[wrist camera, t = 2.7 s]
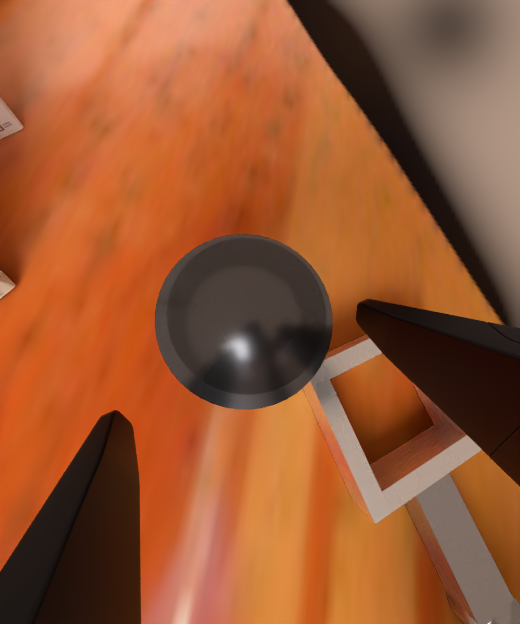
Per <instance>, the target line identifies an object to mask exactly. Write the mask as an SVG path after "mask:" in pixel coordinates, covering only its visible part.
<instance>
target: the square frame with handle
mask: <svg viewBox="0 0 520 624" xmlns="http://www.w3.org/2000/svg"><path fill="white" fill-rule="evenodd" d="M381 353H382V352H381V351H380V350H379V349H378V347H377V346H376V345H375V344H374V343H373V341H372V340H371V339H370V338H369V337H368V336H367V334H365V335H363V336H361V337H358V338H356V339H354V340H352V341H350V342H348V343H346V344H344V345H342V346H340V347H338V348H335V349H333V350H331V351H329V352H327V354H326V357H325V359H324V361H323V363H322V365H321V367H320V369H319V370H318V371H317V373H316V374H315V376H314V377H313V378H312V379H311V380H310V381H309V382H308V383H307V385H306V386H305V387H303V390H304V392H305V394H306V397H307V399H308V401H309V403H310V405H311V408H312V410H313V412H314V414H315V417H316V419H317V421H318V423H319V426H320V428H321V430H322V432H323V435H324V437H325V439H326V441H327V444H328V446H329V448H330V450H331V453H332V455H333V457H334V459H335V462H336V464H337V466H338V468H339V471H340V473H341V475H342V477H343V480H344V482H345V484H346V486H347V489H348V491H349V493H350V495H351V497H352V499H353V500H354V501H355V503H356V504H357V505H358V506H359V507H360V508H361V509H362V510H363V511H364V513H365V514H366V515H367V516H368V517H369V518H370V519H371V520H372V521H373V522H374V524H376V523H378V522H379V521H381V520H382V519H383V518H385V517H386V516H388V515H389V514H391V513H392V512H393V511H395V510H396V509H398V508H399V507H401V506H402V505H403V504H405V505H406V508H407V510H408V512H409V514H410V516H411V518H412V520H413V522H414V524H415V526H416V529H417V531H418V533H419V535H420V537H421V539H422V541H423V543H424V545H425V547H426V550H427V552H428V554H429V556H430V558H431V560H432V562H433V564H434V566H435V569H436V571H437V573H438V575H439V577H440V579H441V581H442V583H443V585H444V587H445V590H446V593H447V599H448V602H449V604H450V607H451V608H452V610H453V611H454V613H455V614H456V615H457V616H458V617H459V618H460V619H461V621H462V622H463V623H464V624H520V604H519V603H518V601H517V600H516V599H515V598H514V597H513V596H512V595H511V593H510V591H509V589H508V587H507V585H506V583H505V581H504V579H503V577H502V575H501V573H500V571H499V569H498V568H497V566H496V564H495V562H494V560H493V558H492V556H491V554H490V552H489V550H488V548H487V546H486V544H485V542H484V540H483V538H482V536H481V534H480V532H479V530H478V528H477V526H476V524H475V522H474V521H473V519H472V517H471V515H470V513H469V511H468V509H467V507H466V505H465V503H464V501H463V499H462V497H461V495H460V493H459V491H458V489H457V487H456V485H455V483H454V481H453V479H452V477H451V476H450V474H449V472H451V471H452V470H454V469H455V468H456V467H458V466H459V465H461V464H462V463H464V462H465V461H467V460H468V459H469V458H471V457H472V456H474V455H475V454H477V453H478V452H479V451H481V450H482V449H481V448H480V447H479V446H478V445H477V444H476V443H475V442H474V441H473V440H472V439H470V438H469V437H468V436H467V435H466V434H465V433H464V432H463V431H462V430H461V429H460V428H459V427H458V426H457V425H456V424H455V423H454V422H453V421H452V420H451V419H450V418H449V417H448V416H447V415H446V414H445V413H444V412H443V411H442V410H441V409H440V408H438V407H437V406H436V405H435V404H434V403H433V402H432V401H431V400H430V399H429V398H428V397H427V396H426V395H425V394H424V393H423V392H422V391H421V390H420V389H419V388H418V387H417V386H416V385H415V384H414V383H413V382H412V381H411V382H412V384H413V385H414V387H415V389H416V391H417V393H418V395H419V397H420V399H421V401H422V403H423V405H424V407H425V409H426V411H427V413H428V415H429V416H430V418H431V420H432V422H433V424H434V425H433V426H431V427H429V428H428V429H426V430H425V431H423V432H421V433H420V434H418V435H417V436H415V437H413V438H412V439H410V440H409V441H407V442H405V443H404V444H402V445H401V446H399V447H397V448H396V449H394V450H393V451H391V452H389V453H388V454H386V455H385V456H383V457H382V458H380V459H378V460H377V461H375V462H374V463H372V464H370V465H369V463H368V461H367V459H366V457H365V454H364V452H363V450H362V448H361V446H360V444H359V441H358V439H357V437H356V435H355V433H354V431H353V429H352V426H351V424H350V422H349V420H348V418H347V416H346V414H345V411H344V409H343V407H342V405H341V403H340V401H339V398H338V396H337V394H336V392H335V390H334V388H333V386H332V383H331V381H330V379H332V378H333V377H335V376H337V375H339V374H341V373H343V372H345V371H347V370H349V369H351V368H353V367H355V366H357V365H359V364H361V363H363V362H365V361H367V360H369V359H371V358H373V357H375V356H377V355H379V354H381Z"/></svg>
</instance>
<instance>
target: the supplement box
mask: <svg viewBox="0 0 520 624" xmlns="http://www.w3.org/2000/svg"><path fill="white" fill-rule="evenodd" d="M22 129H23V125H22V124H21V122H20V121H19V120H18V119H17V117H16V116H15V115H14V113H13V112H12V111H11V110H10V108H9V107H8V106H7V105H6V103H5V102H4V101H3V100H2V98H1V97H0V139H2V138H4V137H7V136H9V135H11V134H13V133H16V132H18V131H20V130H22Z"/></svg>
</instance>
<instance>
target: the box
mask: <svg viewBox="0 0 520 624" xmlns="http://www.w3.org/2000/svg"><path fill="white" fill-rule="evenodd" d="M14 287H15V284H14V283H13V282H12V281H11V280H10V279H9V278H8V277H7V276H6V275H5V274H4V273H3V272H2V271H1V270H0V299H1V298H2V297H3V296H4V295H6V294H7V293H8V292H9V291H11V290H12V289H13V288H14Z"/></svg>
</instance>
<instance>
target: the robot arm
mask: <svg viewBox="0 0 520 624" xmlns="http://www.w3.org/2000/svg"><path fill="white" fill-rule="evenodd" d="M356 321H357V323H358V325H359V326H360V327H361V328H362V330H363V331H364V332H365V333H366V334H367V336H368V337H369V338H370V339H371V340H372V341H373V343H374V344H375V345H376V346H377V347H378V349H379V350H380V351H381V352H382V353H383V354H384V355H385V356H386V357H387V358H388V359H389V360H390V361H391V362H392V363H393V364H394V365H395V366H396V367H397V368H398V369H399V370H400V371H401V372H402V373H403V374H404V375H405V376H406V377H407V378H409V379H410V380H411V381H412V382H413V383H414V384H415V385H416V386H417V387H418V388H419V389H420V390H421V391H422V392H423V393H424V394H425V395H426V396H427V397H428V398H429V399H430V400H431V401H432V402H433V403H434V404H435V405H436V406H437V407H438V408H440V409H441V410H442V411H443V412H444V413H445V414H446V415H447V416H448V417H449V418H450V419H451V420H452V421H453V422H454V423H455V424H456V425H457V426H458V427H459V428H460V429H461V430H462V431H463V432H464V433H465V434H466V435H467V436H468V437H469V438H470V439H472V440H473V441H474V442H475V443H476V444H477V445H478V446H479V447H480V448H481V449H482V450H483V451H484V452H485V453H486V454H487V455H488V456H489V457H490V458H491V459H492V460H493V461H494V462H495V463H496V464H497V465H498V466H499V467H500V468H501V469H502V470H503V471H504V472H505V473H506V474H507V475H508V476H510V477H511V478H512V479H513V480H514V481H515V482H516V483H517V484H518V485H519V486H520V328H516V327H510V326H505V325H500V324H495V323H490V322H488V323H486V322H484V321H479V320H474V319H469V318H464V317H459V316H454V315H449V314H444V313H439V312H433V311H428V310H423V309H418V308H413V307H408V306H403V305H398V304H393V303H387V302H382V301H377V300H372V299H366V300H363V301H361V302H359V303H358V305H357V313H356ZM0 624H141V574H140V485H139V471H138V462H137V455H136V447H135V439H134V431H133V427H132V424H131V423H130V422H129V421H128V420H127V419H126V418H125V417H124V416H123V415H122V414H121V413H120V412H119V411H117V410H114V411H111V412H109V413H107V414H105V415H103V416H101V417H100V418H99V420H98V421H97V423H96V425H95V426H94V428H93V429H92V431H91V432H90V434H89V435H88V437H87V438H86V440H85V442H84V443H83V445H82V446H81V448H80V449H79V451H78V452H77V454H76V455H75V457H74V459H73V460H72V462H71V463H70V465H69V466H68V468H67V469H66V471H65V472H64V474H63V476H62V477H61V479H60V480H59V482H58V483H57V485H56V486H55V488H54V489H53V491H52V493H51V494H50V496H49V497H48V499H47V500H46V502H45V503H44V505H43V507H42V508H41V510H40V511H39V513H38V514H37V516H36V517H35V519H34V520H33V522H32V524H31V525H30V527H29V528H28V530H27V531H26V533H25V534H24V536H23V537H22V539H21V541H20V542H19V544H18V545H17V547H16V548H15V550H14V551H13V553H12V554H11V556H10V558H9V559H8V561H7V562H6V564H5V565H4V567H3V568H2V570H1V572H0Z"/></svg>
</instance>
